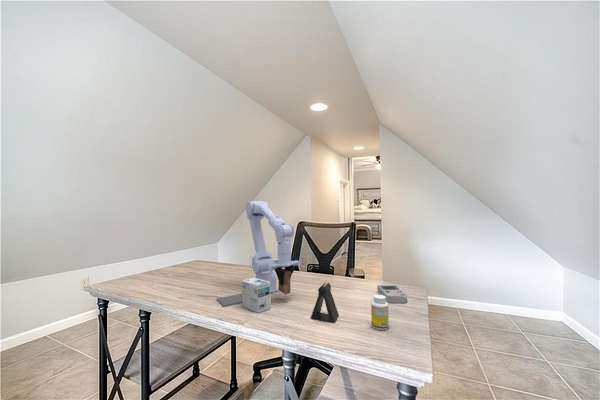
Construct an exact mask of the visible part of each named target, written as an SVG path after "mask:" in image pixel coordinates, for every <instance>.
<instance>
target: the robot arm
mask: <svg viewBox="0 0 600 400" xmlns="http://www.w3.org/2000/svg"><path fill="white" fill-rule="evenodd" d="M269 205H270V204H269V203H268V202H267V201H266V200H262V201H261V200H256V201H255V200H249V201H248V202H246V205H245V212H246V217H247V219H248V221H249V225H250V229H251V234H252V239H253V245H254V246H253V247H254V252H255V254H254V255H253V256H252V258H251V269H252V271H253V273H254V274H255V278H257V279H261V280H265V281H269V282H271V293H274V292H278V289H277V279H278V285H279V284H280V285H283V276H284V271H285V270H288V271H290V280H291V278H292V275H293V273H294V271H295V266H301V265H300V260H292V237H294V232H295V231H294V227H293V225H292V224H291V223H286V222H285V220H283V219H282V218H281V216H280V215H279V214H274V213H273V212H272V210H271V209H270V206H269ZM264 218H266V219H267V220H268V222H267V223H268V225H269V226H270V227H271V228H272V230H274V235H275V238H276V243H277V262H275V260H274V258H273V255H272V254H271V253H270V252H269V251H267V247H266V243H265V242H266V241H265V237H264V233H263V228H262V224H261V222H262V220H263V219H264ZM283 269H285V270H283Z"/></svg>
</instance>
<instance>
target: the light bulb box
mask: <svg viewBox="0 0 600 400" xmlns="http://www.w3.org/2000/svg"><path fill="white" fill-rule="evenodd" d="M241 281H242V282H241V283H242V285H241V286H242V289H241V290H242V291H241V292H242V293H241V294H242V303H241V305H242V307H243V308H246V309H248V310H250V311H251V312H252V311H253V312H255V313H258V314H259V313H262V312H264V311H267V310H270V309H271V308H272V302H271V301H272V300H271V298H272V297H271V296H272V295H271V294H272V292H271V282H269V281H265V280H261V279H257V278H256V277H251V278H247V279H243V280H241Z"/></svg>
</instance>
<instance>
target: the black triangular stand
mask: <svg viewBox="0 0 600 400" xmlns="http://www.w3.org/2000/svg"><path fill="white" fill-rule="evenodd" d="M331 288H332V286H331V284H330V283H329V282H327V283H326V282H324V283H323V284H322V285H321V286H319V287H318V290H317V292H318V296H317V298H316V301H315V304H314V307H313V310H312V313H311V316H310V320H313V321H318V322H319V321H320V322H327V323H331V324H335V323H336V322H337V320H338V318H339V311H338V309H337V306H336V302H335V300H334V297H333V293H332V290H331ZM323 303H324V304H325V306H326V312H327V313H325V312H324V313H323V312H321V311H322V308H323Z"/></svg>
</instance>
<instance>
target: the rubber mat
mask: <svg viewBox="0 0 600 400" xmlns="http://www.w3.org/2000/svg"><path fill="white" fill-rule="evenodd" d="M216 301H217V302H218V303H219V304H220V305H221V306H222V307H223V308H225V307H229V306H235V305H238V304H239V305H240V304H242V293H238V294H232V295H227V296H221V297H217V298H216Z"/></svg>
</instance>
